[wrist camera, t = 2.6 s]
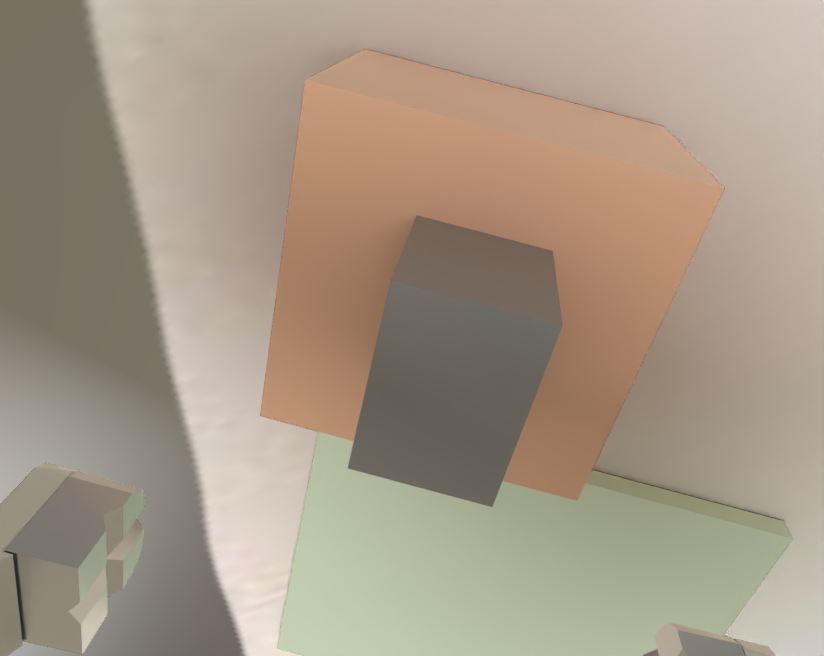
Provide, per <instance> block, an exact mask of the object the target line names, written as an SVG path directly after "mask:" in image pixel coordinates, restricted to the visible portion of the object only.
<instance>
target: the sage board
mask: <svg viewBox="0 0 824 656" xmlns="http://www.w3.org/2000/svg"><path fill="white" fill-rule="evenodd" d="M353 442H354V441H351V440H348V439H344V438H340V437H336V436H333V435H329V434H325V433H321V432H318V436H317V441H316V446H315V451H314V457H313V462H312V467H311V472H310V477H309V483H308V488H307V493H306V498H305V503H304V509H303V514H302V519H301V524H300V529H299V535H298V540H297V545H296V550H295V556H294V561H293V566H292V571H291V576H290V582H289V587H288V592H287V597H286V602H285V608H284V613H283V618H282V623H281V628H280V634H279V639H278V644H277V649H280V650H284V651H287V652H291V653H295V654H298V655H302V656H643V655H644V654H646V653H649V652H651V651H653V650H656V649H657V645H656V641H655V635H656V634H657V632H658V631H659V629H660V628H661V626H663V625H665V624H667V623H668V622H670V623H674V624H678V625H682V626H687V627H691V628H695V629H699V630H703V631H707V632H711V633H716V634H720V635H724V634H725V632H726V631H727V629H728V628H729V627H730V625H731V624H732V623H733V621H734V620H735V618H736V617H737V616H738V614H739V613H740V611H741V610H742V609H743V607H744V606H745V604H746V603H747V602H748V600H749V599H750V598H751V596H752V595H753V593H754V592H755V591H756V589H757V588H758V586H759V585H760V584H761V582H762V581H763V580H764V578H765V577H766V575H767V574H768V573H769V571H770V570H771V568H772V567H773V566H774V564H775V563H776V561H777V560H778V559H779V557H780V556H781V555H782V553H783V552H784V550H785V549H786V548H787V546H788V545H789V543H790V542H791V541H792V539H793V538H792V536H791V534H790V532H789V530H788V528H787V526H786V524H785V522H784V521H782V520H778V519H774V518H771V517H767V516H763V515H759V514H756V513H752V512H748V511H744V510H741V509H737V508H733V507H729V506H726V505H722V504H718V503H714V502H711V501H707V500H703V499H699V498H696V497H692V496H688V495H684V494H681V493H677V492H673V491H669V490H666V489H662V488H658V487H654V486H651V485H647V484H643V483H639V482H636V481H632V480H628V479H624V478H621V477H617V476H613V475H609V474H606V473H602V472H598V471H594V470H592V471H591V473H590V475H589V477H588V479H587V482H586V484H585V486H584V488H583V490H582V492H581V494H580V496H579V499H578V501H576V500H572V499H568V498H564V497H561V496H557V495H553V494H550V493H546V492H542V491H538V490H535V489H531V488H527V487H523V486H520V485H516V484H512V483H508V482H505V481H502V484H501V486H500V489H499V492H498V494H497V497H496V499H495V502H494V504H493V507H489V506H486V505H482V504H478V503H475V502H471V501H467V500H463V499H460V498H456V497H452V496H448V495H445V494H441V493H437V492H433V491H430V490H426V489H422V488H419V487H415V486H411V485H407V484H404V483H400V482H396V481H392V480H389V479H385V478H381V477H378V476H374V475H370V474H366V473H363V472H359V471H355V470H351V469H348V464H349V460H350V455H351V451H352V446H353Z"/></svg>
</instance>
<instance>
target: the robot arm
mask: <svg viewBox="0 0 824 656" xmlns="http://www.w3.org/2000/svg"><path fill="white" fill-rule="evenodd" d="M143 508H144V491H143V490H141V489H139V488H136V487H133V486H129V485H126V484H122V483H118V482H115V481H111V480H107V479H104V478H100V477H97V476H94V475H90V474H86V473H83V472H79V471H74V470H71V469H67V468H63V467H60V466H56V465H53V464H49V463H44V464H42V465H40V466H38V467H37V468H35V469H33V470H32V471H31V473H30V474H29V475H28V476H27V477H26V478H25V479H24V480H23V481H22V482H21V483H20V484H19V485H18V486H17V487H16V488H15V489H14V490H13V492H11V493H10V495H9V496H8V497H7V498H6V499H5V500H4V501H3V502H2V503H1V504H0V656H7V655H9V654H10V653H12V652H13V651H15V650H16V649H18V648H19V647H21V646H22V645H23V641H24V642H28V643H33V644H38V645H42V646H47V647H51V648H56V649H60V650H64V651H69V652H73V653H78V654H83V652H84V651H85V649H86V647H87V646H88V644H89V643H90V641H91V640H92V638H93V636H94V635H95V633H96V632H97V630H98V628H99V627H100V625H101V624H102V622H103V620H104V619H105V617H106V615H107V598H108V597H110V596H111V595H113V594H115V593H117V592H119V591H120V590H122V589H123V588H124V586H125V585H126V583H127V581H128V580H129V578H130V576H131V575H132V573H133V571H134V568H135V565H136V563H137V561H138V558H139V556H140V553H141V548H142V543H143V538H144V527H143V526H142V524H141V523H140V522H139V520H138V519H137V517H138V516H139V514H140V513H141V511H142V510H143ZM655 641H656V645H657V649H656V650H653V651H651V652H649V653H646V654H644V655H643V656H775V654H774V653H773V652H772V651H771V650H770V648H769V647H767V646H763V645H759V644H755V643H751V642H747V641H743V640H739V639H732V638H730V637H728V636H724V635H720V634H716V633H711V632H707V631H703V630H699V629H695V628H691V627H687V626H682V625H678V624H674V623H670V622H668V623H667V624H665V625H663V626H661V628H660V629H659V631H658V632H657V634H656V635H655Z"/></svg>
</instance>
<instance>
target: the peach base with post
mask: <svg viewBox="0 0 824 656" xmlns="http://www.w3.org/2000/svg"><path fill="white" fill-rule="evenodd" d="M724 189H725V188H724V187H723V186H722V185H721V184H720V183H719V182H718V181H717V180H716V179H715V178H714V177H713V176H712V175H711V174H710V173H709V172H708V171H707V170H706V169H705V168H704V167H703V166H702V165H701V164H700V163H699V162H698V160H697V159H696V158H695V157H694V156H693V155H692V154H691V153H690V152H689V151H688V150H687V149H686V148H685V147H684V146H683V145H682V144H681V143H680V142H679V141H678V140H677V139H676V138H675V137H674V136H673V135H672V134H671V132H670V131H669V130H668V129H667V128H666V127H664V126H661V125H657V124H653V123H649V122H645V121H641V120H637V119H633V118H630V117H626V116H622V115H618V114H614V113H610V112H606V111H603V110H599V109H595V108H591V107H587V106H583V105H579V104H576V103H572V102H568V101H564V100H560V99H556V98H552V97H549V96H545V95H541V94H537V93H533V92H529V91H525V90H521V89H518V88H514V87H510V86H506V85H502V84H498V83H494V82H491V81H487V80H483V79H479V78H475V77H471V76H467V75H464V74H460V73H456V72H452V71H448V70H444V69H440V68H437V67H433V66H429V65H425V64H421V63H417V62H413V61H410V60H406V59H402V58H398V57H394V56H390V55H386V54H382V53H379V52H375V51H371V50H367V49H364V50H362V51H360V52H358V53H356V54H354V55H352V56H350V57H348V58H346V59H344V60H342V61H341V62H339V63H337V64H335V65H333V66H331V67H329V68H327V69H325V70H323V71H321V72H319V73H317V74H315V75H313V76H311V77H309V78H307V79H305V85H304V92H303V100H302V107H301V114H300V122H299V129H298V137H297V144H296V152H295V159H294V167H293V174H292V181H291V189H290V196H289V204H288V211H287V219H286V226H285V233H284V241H283V248H282V256H281V263H280V271H279V278H278V286H277V293H276V300H275V308H274V315H273V323H272V330H271V338H270V345H269V353H268V360H267V367H266V375H265V382H264V390H263V397H262V405H261V412H260V416H262V417H265V418H269V419H273V420H277V421H280V422H284V423H288V424H292V425H295V426H299V427H303V428H306V429H310V430H314V431H318V432H321V433H325V434H329V435H333V436H336V437H340V438H344V439H348V440H351V441H354V442H353V446H352V451H351V455H350V460H349V464H348V469H351V470H355V471H359V472H363V473H366V474H370V475H374V476H378V477H381V478H385V479H389V480H392V481H396V482H400V483H404V484H407V485H411V486H415V487H419V488H422V489H426V490H430V491H433V492H437V493H441V494H445V495H448V496H452V497H456V498H460V499H463V500H467V501H471V502H475V503H478V504H482V505H486V506H489V507H493V504H494V502H495V499H496V497H497V494H498V492H499V489H500V486H501V484H502V481H505V482H508V483H512V484H516V485H520V486H523V487H527V488H531V489H535V490H538V491H542V492H546V493H550V494H553V495H557V496H561V497H564V498H568V499H572V500H576V501H578V499H579V496H580V494H581V492H582V490H583V488H584V486H585V484H586V482H587V479H588V477H589V475H590V473H591V471H592V469H593V467H594V465H595V462H596V460H597V458H598V456H599V454H600V452H601V450H602V448H603V446H604V443H605V441H606V439H607V437H608V435H609V433H610V431H611V429H612V426H613V424H614V422H615V420H616V418H617V416H618V414H619V412H620V409H621V407H622V405H623V403H624V401H625V399H626V397H627V395H628V393H629V390H630V388H631V386H632V384H633V382H634V380H635V378H636V376H637V373H638V371H639V369H640V367H641V365H642V363H643V361H644V359H645V356H646V354H647V352H648V350H649V348H650V346H651V344H652V342H653V340H654V337H655V335H656V333H657V331H658V329H659V327H660V325H661V323H662V320H663V318H664V316H665V314H666V312H667V310H668V308H669V306H670V303H671V301H672V299H673V297H674V295H675V293H676V291H677V289H678V286H679V284H680V282H681V280H682V278H683V276H684V274H685V272H686V270H687V267H688V265H689V263H690V261H691V259H692V257H693V255H694V253H695V250H696V248H697V246H698V244H699V242H700V240H701V238H702V236H703V233H704V231H705V229H706V227H707V225H708V223H709V221H710V219H711V217H712V214H713V212H714V210H715V208H716V206H717V204H718V202H719V200H720V197H721V195H722V193H723V191H724Z"/></svg>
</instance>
